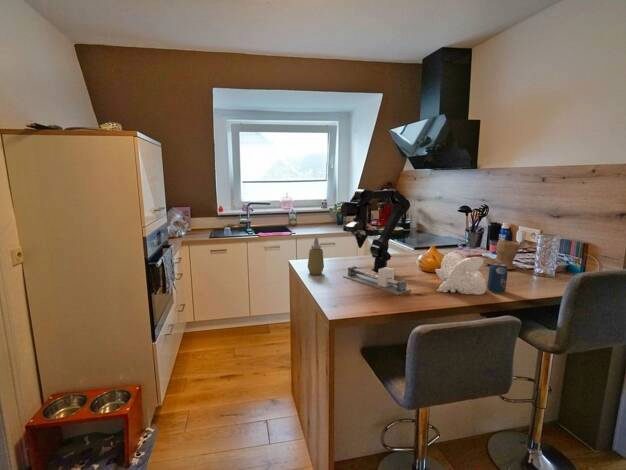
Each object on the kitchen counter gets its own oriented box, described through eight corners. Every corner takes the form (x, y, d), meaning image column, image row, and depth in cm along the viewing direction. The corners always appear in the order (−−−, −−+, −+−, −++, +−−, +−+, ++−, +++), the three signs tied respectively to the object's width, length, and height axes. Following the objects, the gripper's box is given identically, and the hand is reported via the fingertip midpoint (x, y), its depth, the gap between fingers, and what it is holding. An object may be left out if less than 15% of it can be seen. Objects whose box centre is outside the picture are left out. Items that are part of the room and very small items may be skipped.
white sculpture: (506, 274, 143) (471, 250, 138) (480, 316, 143) (444, 293, 138) (475, 265, 161) (444, 243, 156) (453, 302, 161) (420, 281, 156)
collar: (377, 284, 153) (378, 269, 152) (386, 282, 157) (386, 266, 156) (384, 287, 150) (385, 271, 149) (393, 284, 154) (394, 268, 153)
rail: (347, 276, 168) (348, 267, 167) (354, 274, 170) (354, 265, 170) (399, 293, 146) (400, 282, 145) (405, 291, 148) (406, 280, 148)
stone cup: (521, 269, 186) (525, 241, 183) (507, 271, 181) (510, 243, 178) (495, 262, 199) (498, 236, 197) (481, 264, 194) (484, 238, 191)
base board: (343, 277, 167) (343, 275, 166) (356, 273, 172) (356, 272, 172) (397, 294, 144) (397, 293, 144) (410, 290, 149) (410, 288, 149)
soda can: (504, 295, 146) (507, 267, 144) (486, 291, 149) (489, 264, 147) (505, 290, 152) (509, 263, 149) (487, 287, 155) (490, 261, 153)
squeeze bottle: (322, 276, 167) (323, 239, 164) (305, 275, 169) (306, 238, 165) (325, 271, 175) (326, 236, 172) (309, 270, 176) (309, 235, 173)
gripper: (335, 214, 170) (334, 246, 172) (365, 219, 156) (363, 253, 159) (351, 213, 177) (350, 243, 180) (381, 217, 163) (379, 250, 166)
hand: (360, 247), depth 171 cm, fingers closed
